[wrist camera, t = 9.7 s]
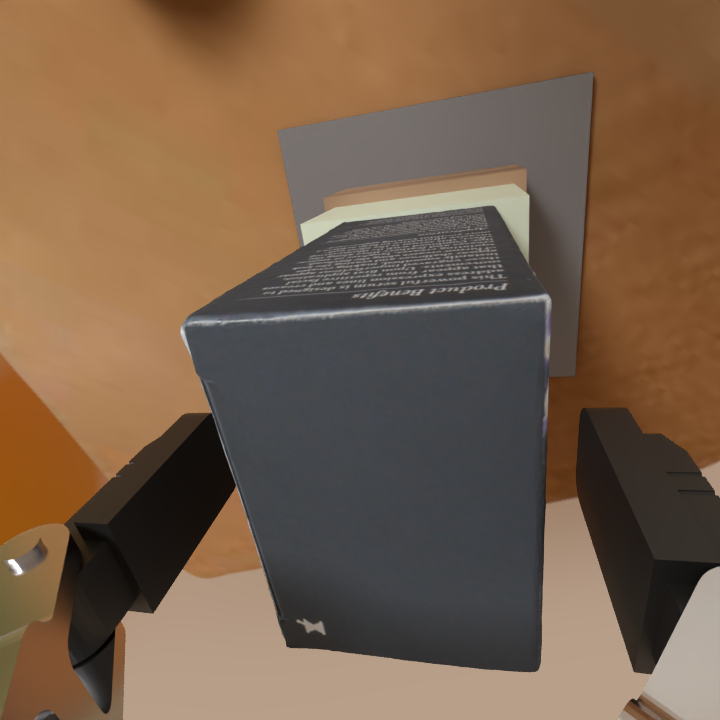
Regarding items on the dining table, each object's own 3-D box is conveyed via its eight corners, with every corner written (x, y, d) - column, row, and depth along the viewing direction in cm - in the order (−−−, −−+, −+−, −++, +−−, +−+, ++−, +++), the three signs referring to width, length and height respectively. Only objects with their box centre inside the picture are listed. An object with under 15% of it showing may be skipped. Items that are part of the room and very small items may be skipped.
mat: (280, 130, 25) (277, 130, 25) (591, 72, 21) (593, 71, 21) (329, 381, 31) (327, 383, 31) (573, 373, 27) (575, 376, 27)
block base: (347, 188, 25) (322, 197, 21) (514, 164, 23) (526, 168, 18) (369, 334, 29) (352, 369, 24) (514, 326, 27) (524, 362, 22)
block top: (334, 207, 21) (300, 224, 16) (514, 183, 19) (529, 195, 14) (359, 360, 24) (336, 409, 20) (514, 353, 22) (527, 406, 18)
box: (502, 403, 18) (544, 685, 9) (366, 405, 19) (274, 650, 10) (499, 198, 15) (564, 293, 5) (336, 219, 16) (161, 322, 7)
